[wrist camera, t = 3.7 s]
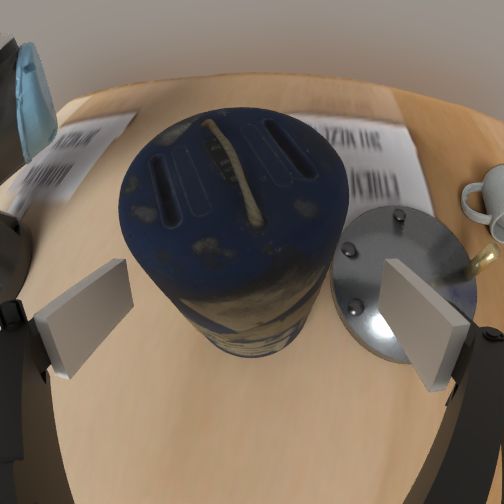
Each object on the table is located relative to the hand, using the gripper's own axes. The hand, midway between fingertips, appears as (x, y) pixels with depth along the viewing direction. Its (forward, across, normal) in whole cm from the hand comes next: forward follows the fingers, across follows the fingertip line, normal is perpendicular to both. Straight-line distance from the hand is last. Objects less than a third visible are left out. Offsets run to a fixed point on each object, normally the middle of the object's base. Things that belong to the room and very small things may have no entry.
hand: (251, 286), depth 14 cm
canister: (+10, -1, -6) cm, 12 cm away
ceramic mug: (+18, +30, +1) cm, 35 cm away
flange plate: (+11, +14, -5) cm, 19 cm away
